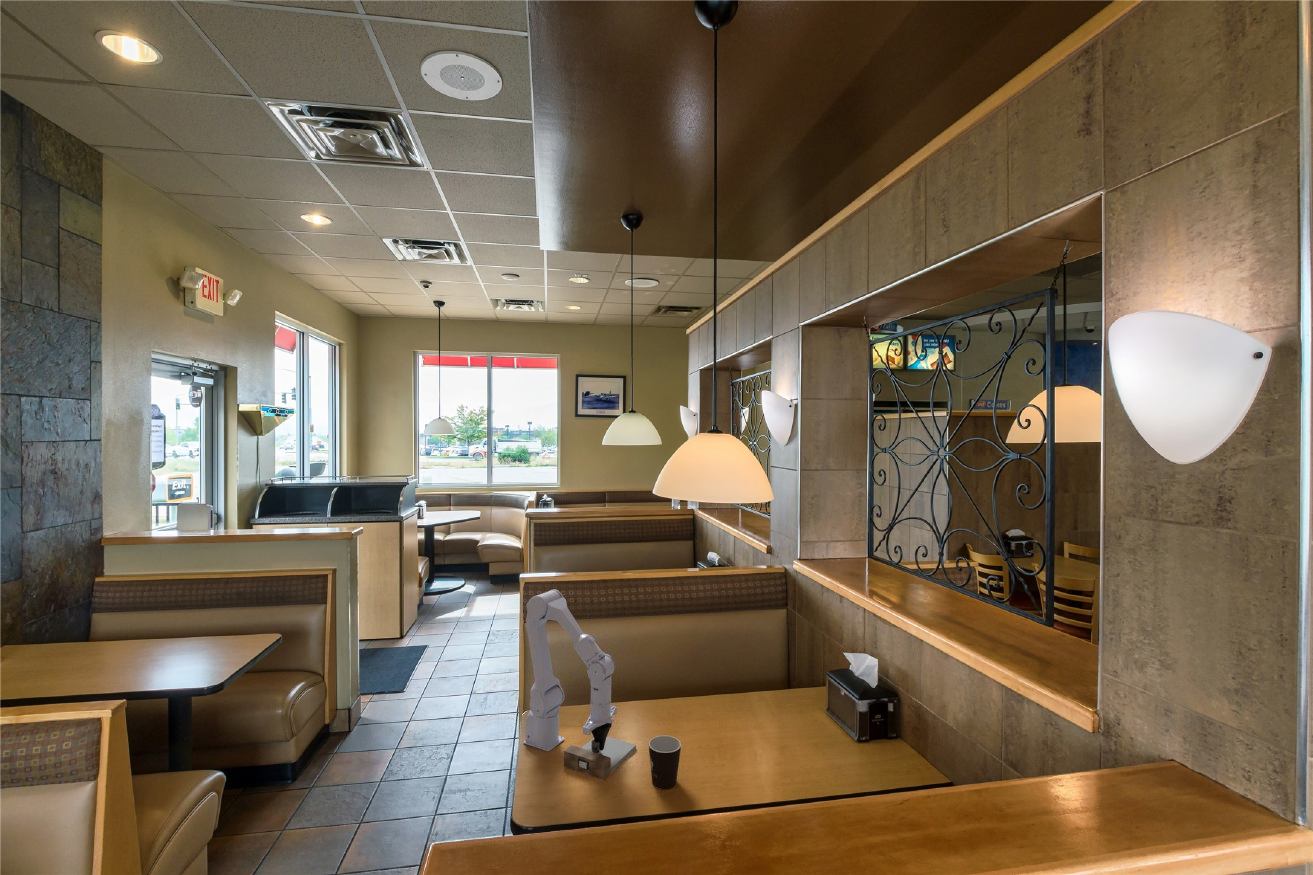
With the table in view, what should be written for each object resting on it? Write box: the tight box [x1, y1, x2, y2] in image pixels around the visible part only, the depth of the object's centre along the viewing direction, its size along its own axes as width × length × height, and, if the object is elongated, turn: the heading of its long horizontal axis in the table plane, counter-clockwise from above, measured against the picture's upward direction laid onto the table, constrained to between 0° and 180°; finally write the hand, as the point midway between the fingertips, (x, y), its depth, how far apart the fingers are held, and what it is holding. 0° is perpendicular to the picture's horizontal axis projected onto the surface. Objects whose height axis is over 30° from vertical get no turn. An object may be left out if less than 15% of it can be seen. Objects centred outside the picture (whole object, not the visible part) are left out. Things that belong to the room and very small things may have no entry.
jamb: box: [563, 744, 612, 781], centre depth 152 cm, size 13×4×4 cm, turn 63°
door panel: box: [581, 735, 637, 773], centre depth 159 cm, size 13×14×3 cm
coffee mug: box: [648, 734, 682, 790], centre depth 148 cm, size 12×9×10 cm
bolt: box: [579, 738, 601, 769], centre depth 153 cm, size 2×7×4 cm, turn 152°
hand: (599, 749), depth 157 cm, fingers closed
